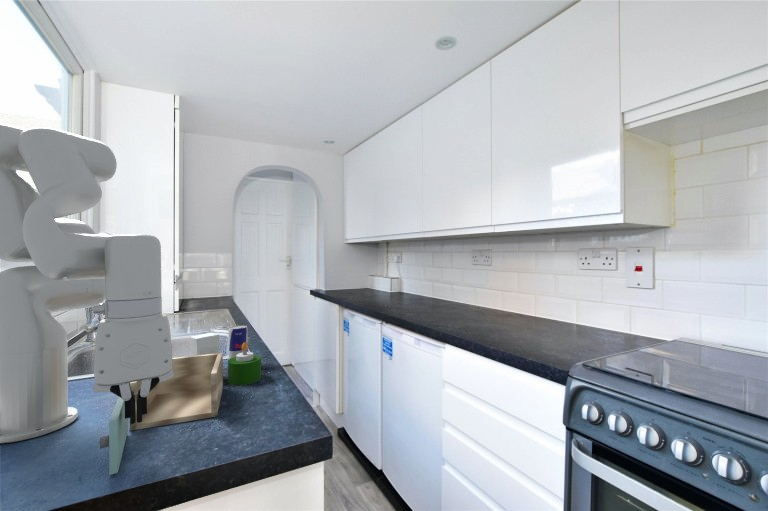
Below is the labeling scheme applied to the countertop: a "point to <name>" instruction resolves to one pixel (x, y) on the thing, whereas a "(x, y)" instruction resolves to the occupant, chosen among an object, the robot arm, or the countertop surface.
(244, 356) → the candle
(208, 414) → the crate
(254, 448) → the countertop surface
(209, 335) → the skincare box
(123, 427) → the door
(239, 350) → the energy drink
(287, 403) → the countertop surface
